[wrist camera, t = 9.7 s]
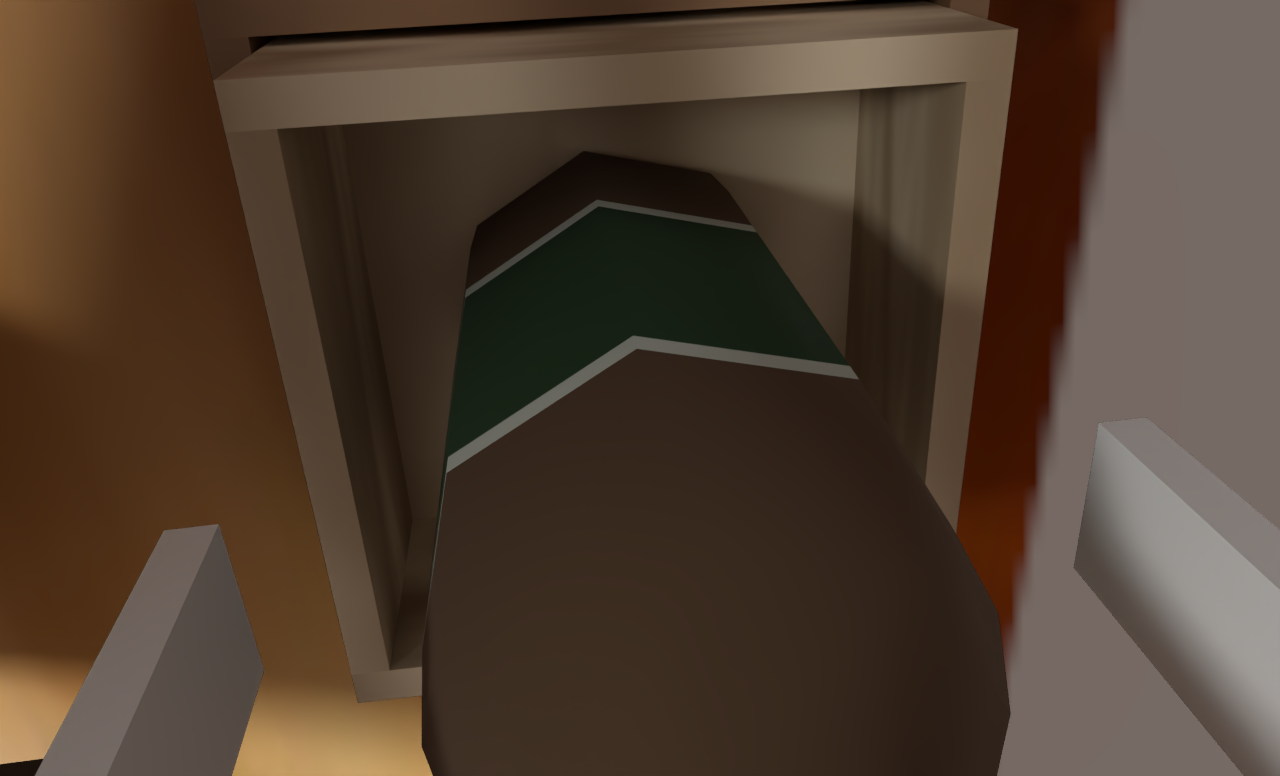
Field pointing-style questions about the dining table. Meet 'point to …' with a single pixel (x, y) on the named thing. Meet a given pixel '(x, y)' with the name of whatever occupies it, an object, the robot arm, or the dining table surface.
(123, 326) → the dining table surface
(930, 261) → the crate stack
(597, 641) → the beer bottle
